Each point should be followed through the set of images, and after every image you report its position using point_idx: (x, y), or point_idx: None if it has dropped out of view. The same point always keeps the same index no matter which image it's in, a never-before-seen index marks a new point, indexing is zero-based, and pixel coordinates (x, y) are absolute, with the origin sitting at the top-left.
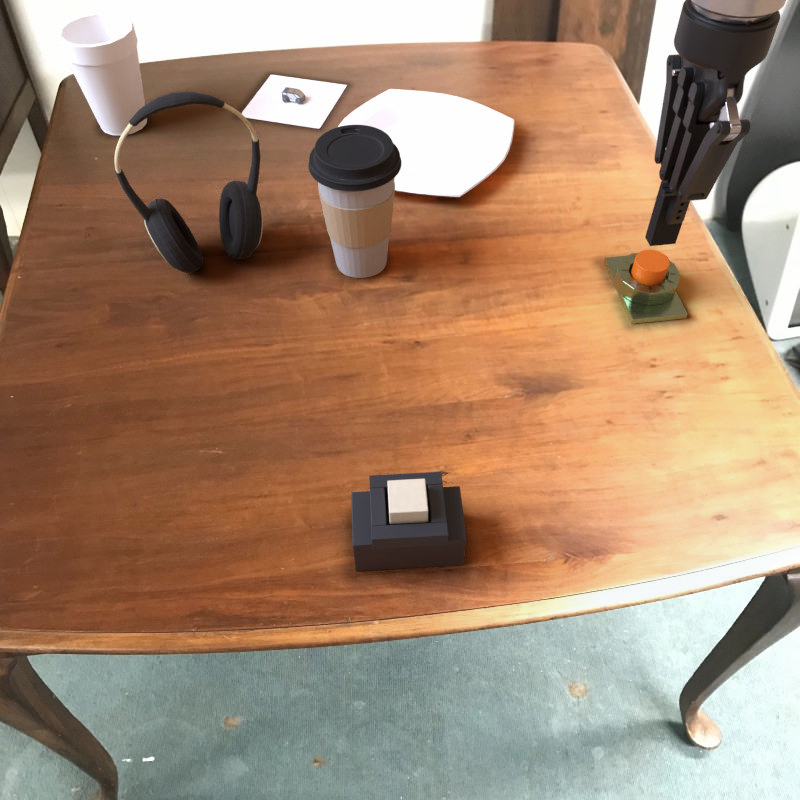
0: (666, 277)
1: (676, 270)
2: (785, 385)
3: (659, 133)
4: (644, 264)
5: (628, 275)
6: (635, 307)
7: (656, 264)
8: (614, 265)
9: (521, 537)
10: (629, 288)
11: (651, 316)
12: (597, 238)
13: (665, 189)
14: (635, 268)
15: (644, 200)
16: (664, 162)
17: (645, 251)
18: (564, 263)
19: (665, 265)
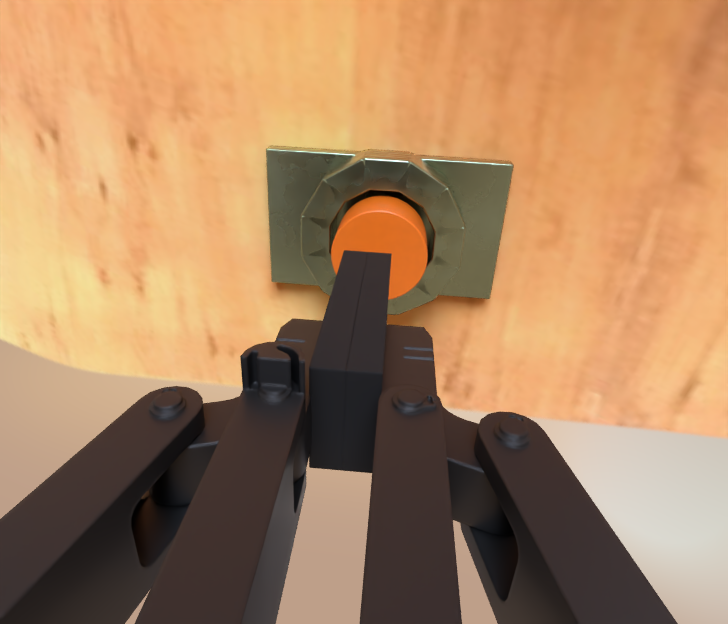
0: None
1: None
2: (92, 368)
3: (598, 539)
4: (367, 230)
5: (379, 183)
6: (307, 172)
7: None
8: (473, 178)
9: None
10: (337, 169)
11: (271, 199)
12: (612, 180)
13: (276, 368)
14: (376, 205)
15: (702, 353)
16: (415, 446)
17: (420, 254)
18: (545, 38)
19: None
